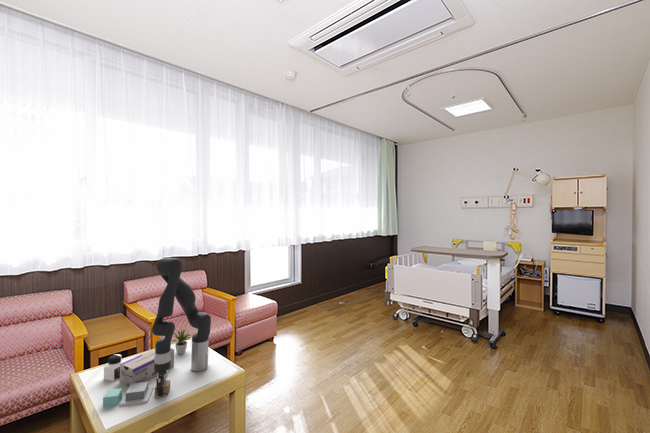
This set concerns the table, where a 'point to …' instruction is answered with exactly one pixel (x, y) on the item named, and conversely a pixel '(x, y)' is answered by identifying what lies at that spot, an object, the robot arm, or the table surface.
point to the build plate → (137, 394)
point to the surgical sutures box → (140, 368)
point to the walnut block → (164, 388)
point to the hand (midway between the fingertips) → (161, 391)
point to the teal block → (112, 397)
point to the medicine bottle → (113, 368)
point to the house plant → (181, 341)
